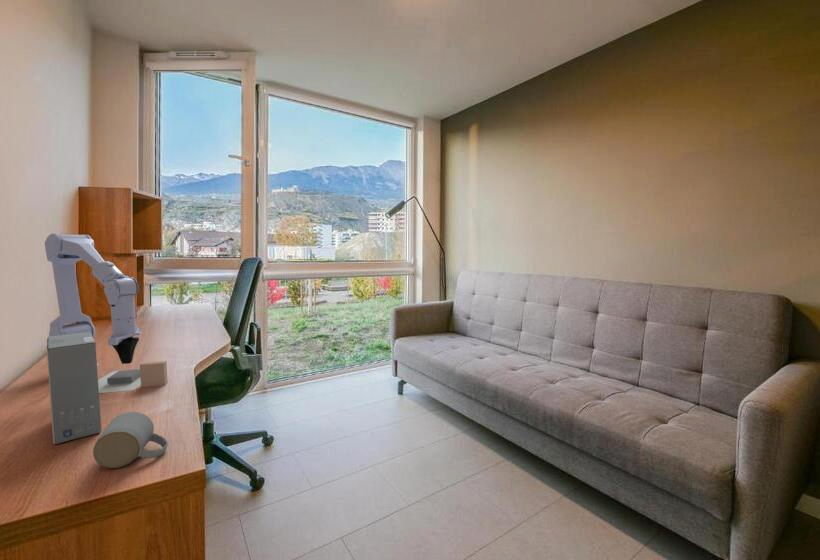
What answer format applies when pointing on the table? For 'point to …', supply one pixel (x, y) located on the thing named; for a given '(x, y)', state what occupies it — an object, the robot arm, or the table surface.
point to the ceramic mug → (127, 440)
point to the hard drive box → (73, 386)
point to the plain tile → (153, 373)
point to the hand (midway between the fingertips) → (126, 363)
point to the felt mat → (116, 385)
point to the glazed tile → (124, 377)
